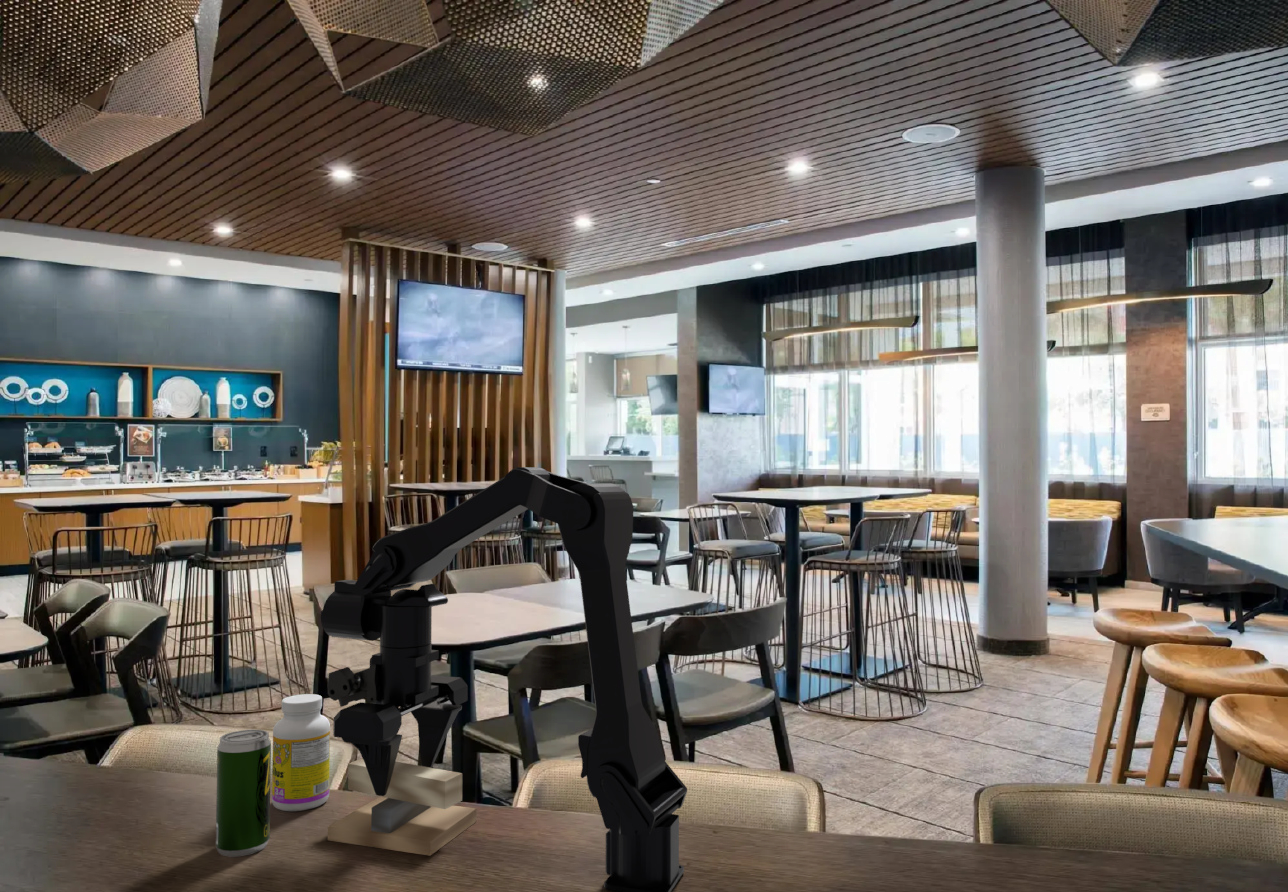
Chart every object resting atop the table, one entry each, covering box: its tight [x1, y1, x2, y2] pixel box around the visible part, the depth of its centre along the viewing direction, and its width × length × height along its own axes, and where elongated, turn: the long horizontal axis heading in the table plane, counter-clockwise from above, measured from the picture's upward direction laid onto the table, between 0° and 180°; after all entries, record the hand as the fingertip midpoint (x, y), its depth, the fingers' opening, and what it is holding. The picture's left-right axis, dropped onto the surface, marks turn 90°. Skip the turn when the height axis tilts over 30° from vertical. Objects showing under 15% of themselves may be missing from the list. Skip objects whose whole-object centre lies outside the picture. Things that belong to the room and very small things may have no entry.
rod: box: [347, 757, 463, 809], centre depth 102 cm, size 14×3×3 cm, turn 64°
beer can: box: [215, 729, 272, 858], centre depth 98 cm, size 5×5×12 cm
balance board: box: [327, 796, 478, 856], centre depth 102 cm, size 13×10×4 cm
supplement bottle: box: [271, 693, 331, 812], centre depth 111 cm, size 7×7×13 cm
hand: (404, 781), depth 102 cm, fingers open, 9 cm apart
